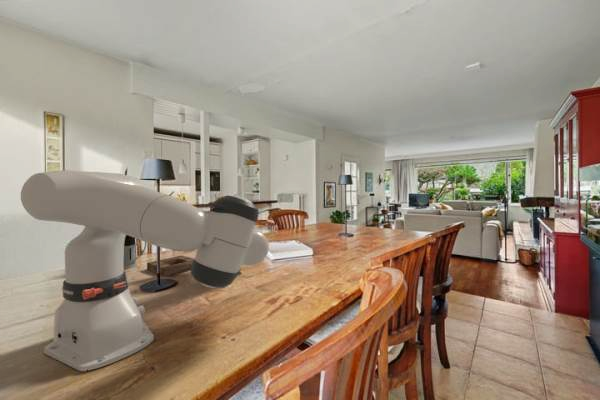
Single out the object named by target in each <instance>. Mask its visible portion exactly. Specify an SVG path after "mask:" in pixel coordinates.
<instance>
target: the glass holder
mask: <svg viewBox="0 0 600 400" xmlns="http://www.w3.org/2000/svg"><path fill="white" fill-rule="evenodd" d="M138 244H139V239H137V238H134V237H131V236H129V235H126V237H125V242H124V270H128V269H133V268H136V267H137V266H138V263H137V259H139V258H140V257H141V256H142V255H143V254H144V253H145V251H146V248H147V242H145V241H144V248H143V250H142V252H141V253H140V254H139V255H138V256H137V246H138Z"/></svg>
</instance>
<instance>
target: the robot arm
mask: <svg viewBox="0 0 600 400" xmlns="http://www.w3.org/2000/svg"><path fill="white" fill-rule="evenodd" d="M20 202H21V204H22V205H21V206H22V207H23V208H24V210H25V212H26V213H27V214H29V215H30V216H31V217H32V218H34V219H36V220H38V221H45V222H47V221H49V222H57V223H59V222H60V223H68V224H73V225H78V226H83V227H84V228H83V230H82V231H81V232H80V233H79V234H78V235H77V236H75V237H74V238H72V239H71V240H70V241H69V242H68V243H67V244H66V246H65V249H64V270H65V271H64V274H65V275H64V276H65V278H64V280H63V282H62V286H61V287H62V288H61V289H62V290H61V291H62V297H63V298H64V299H63V300H62V303H61V304H60V305H59V306H58V307H57V308H56V309H55V311H54V320H53V323H54V324H53V325H54V326H53V341H52V342H50V343H49V344H47V345H46V346H45V347H44V349H43V353H44V354H45V355H46V356H49V357H51V358H53V359H55V360H57V361H59V362H60V363H63V364H65V365H67V366H69V367H71V368H73V369H75V370H77V371H79V372H87V370H88V371H92V370H95V369H99V368H102V367H105V366H108V365H111V364H113V363H115V362H118V361H120V360H122V359H125V358H126V357H129V356H131V355H133V354H135V353H137V352H139V351H141V350H143V349H144V348H146V347H148V345H150V344H151V343H152V342H154V340H155V336H154V334H153V332H152V331H151V329H150V328H149V327H148V325H147V324H146V323H145V321H144V320H143V319H142V316H144V315H145V312H146V311H145V306H144V305H139V306H138V305H137V304H136V303H137V297H135V296H134V297H133V295H132V293H131V292H130V290H129V285H128V284H129V283H128V277H127V274H126V273H127V272H126V271H125V269H124V242H125V237H126V235H129V236H131V237H134V238H135V239H136V240H137V239H138V241H139V240H140V241H142V242H144V243H145V242H146V244H147V243H148V244H150V245H154V246H156V247H160V248H163V249H166V250H171V251H177V252H183V253H187V252H193V251H196V252H195V253H196V254H195V257H194V258H193V259H194V260H193V262H192V267H191V270H190V275H191V276H192V278H193V279H194V280H195V281H197V282H198V283H199V284H201V285H202V286H204V287H206V288H211V289H218V288H219V289H224V288H226V287H228V286H230V285H231V284H232V283H234V281H235V280H236V278H237V277H238V276H240V275H241V274H242V272H241V270H242V266H256V265H258V264H261V263H263V261H264V260H265V259H266V258H267V255H268V253H269V250H270V247H269V246H270V243H269V241H268V239H267V238H268V237H266V236H265V234H264V233H263V232H262V231H260V229H259V228H257V227H256V223H258V219H259V211H260V210H259V209H258V207H257V205H256V204H254V203H253V202H252V201H251V200H249V199H248V198H246V197H244V196H241V195H240V196H239V195H224V196H222V197H221V196H220V197H219V198H217V199H216V200H215V201H213V202H210V201H209V202H208V203H207V206H209V207H211V209H210V210H204V209H201V208H199V207H197V206H195V205H193V204H191V203H189V202H187V201H184V200H182V199H180V198H177V197H174V196H172V195H170V194H165V193H163V192H159V191H157V190H155V189H151V188H148V187H146V186H145V184H144V182H143V181H141V180H140V179H139V178H137V177H134V176H130V175H127V174H123V173H118V172H117V173H115V172H113V173H112V172H101V171H100V172H98V171H84V170H83V171H80V170H67V169H65V170H64V169H63V170H55V171H54V170H53V171H51V170H50V171H44V172H37V173H34V174H32V175H31V176H30V177H29V178H28V179H27V180H26V181H25V182H24V184H23V185H22V187H21V190H20Z"/></svg>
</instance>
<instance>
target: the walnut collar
mask: <svg viewBox="0 0 600 400" xmlns="http://www.w3.org/2000/svg"><path fill="white" fill-rule="evenodd" d="M194 259H195V258H193V257H189V256H185V255H183V254H182V255H177V256H173V257H167V258H162V259H159V260H160V274H159V275H161V276H164V277H171V276H174V275H179V274H182V273H185V272H191V267H192V262H193V260H194ZM146 269H147V271H150V272H153V273H156V274H158V273H157V260H153V261H150V262H147V263H146Z"/></svg>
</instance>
